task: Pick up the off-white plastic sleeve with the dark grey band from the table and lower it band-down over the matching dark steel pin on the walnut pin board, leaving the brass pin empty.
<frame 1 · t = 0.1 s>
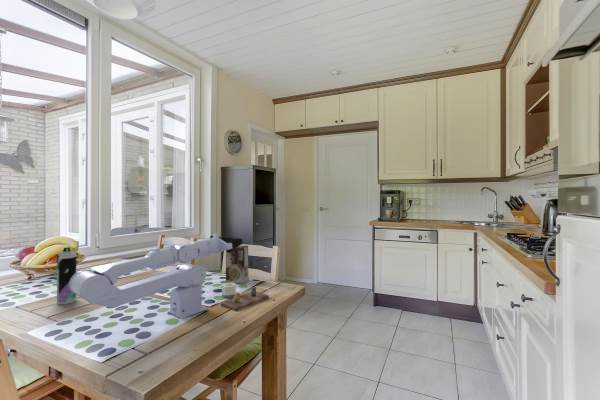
hand: (235, 240, 109), 22 cm above the table, tool horizontal, fingers open, 7 cm apart
sleeve: (229, 296, 108), on the table
spray can: (66, 302, 102), on the table
coffee box: (237, 281, 128), on the table
pin board: (245, 301, 102), on the table
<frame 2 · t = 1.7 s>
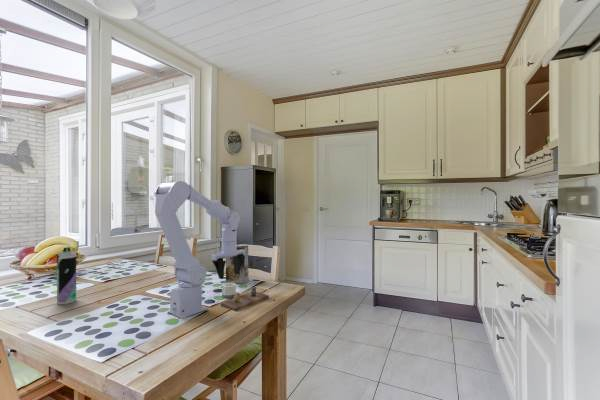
hand: (229, 275, 108), 8 cm above the table, tool pointing down, fingers open, 7 cm apart
nothing on the table moved.
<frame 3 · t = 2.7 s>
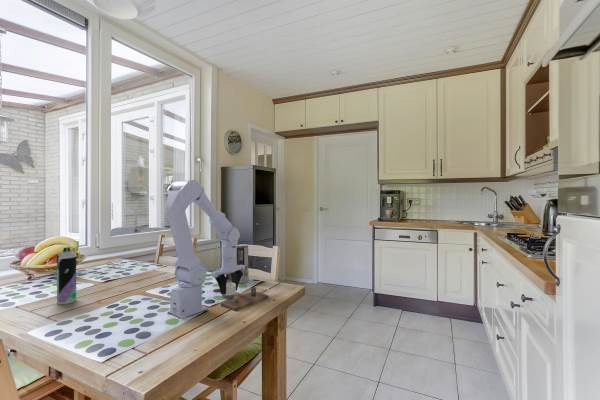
hand: (229, 292, 108), 2 cm above the table, tool pointing down, fingers closed on sleeve, 5 cm apart
sleeve: (229, 296, 108), on the table, touching gripper
everything else where it was.
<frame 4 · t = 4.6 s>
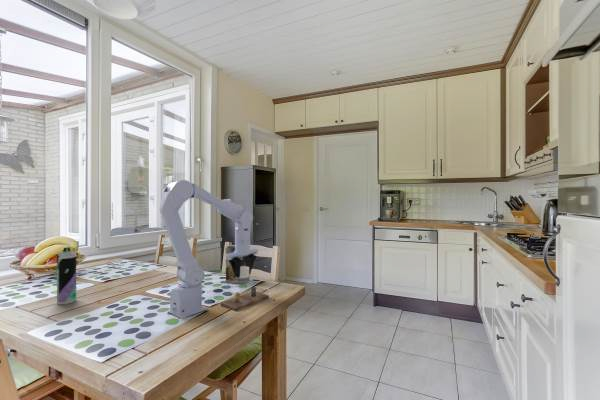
hand: (242, 275, 107), 8 cm above the table, tool pointing down, fingers closed on sleeve, 5 cm apart
sleeve: (242, 279, 107), point 7 cm above the table, touching gripper
everything else where it was.
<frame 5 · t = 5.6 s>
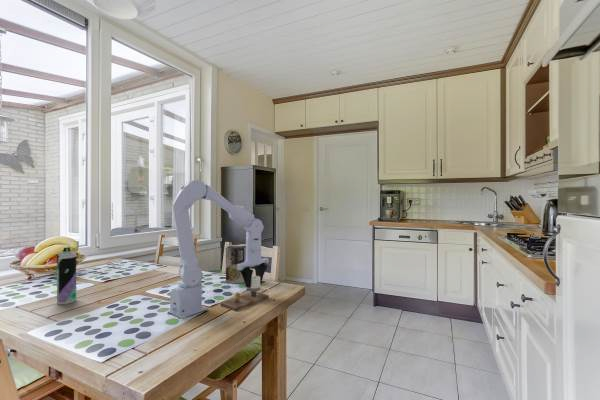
hand: (253, 285, 106), 5 cm above the table, tool pointing down, fingers closed on sleeve, 5 cm apart
sleeve: (253, 289, 106), point 3 cm above the table, touching gripper
everything else where it was.
when the fingers open (4 cm above the table, at t = 6.3 s): sleeve drops 1 cm, resting on pin board.
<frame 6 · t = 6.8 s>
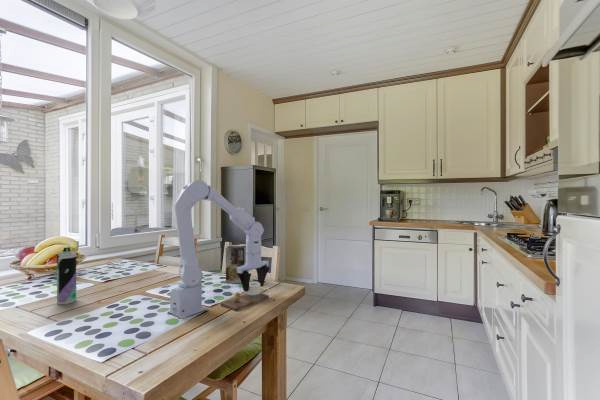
hand: (253, 288, 106), 4 cm above the table, tool pointing down, fingers open, 7 cm apart
sleeve: (253, 295, 106), point 1 cm above the table, touching pin board
everything else where it was.
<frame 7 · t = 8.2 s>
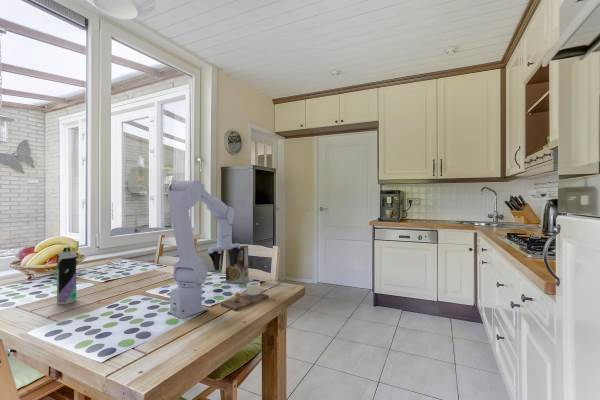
hand: (224, 268, 115), 9 cm above the table, tool pointing down, fingers open, 7 cm apart
nothing on the table moved.
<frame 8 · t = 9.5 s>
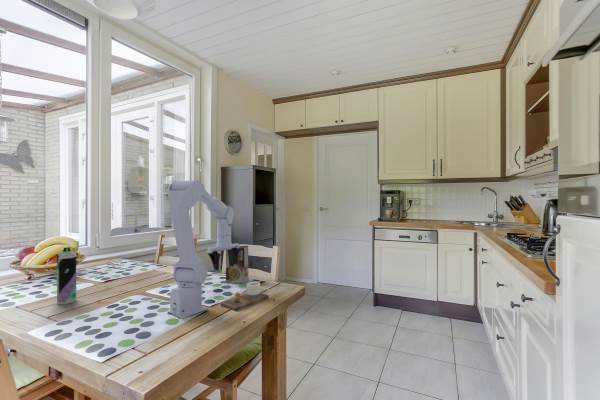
hand: (224, 267, 115), 9 cm above the table, tool pointing down, fingers open, 7 cm apart
nothing on the table moved.
at the end: sleeve 0.0 cm from the target spot on the pin board, point 1.0 cm above the pin board's base; sleeve tilted 0°; the gripper is holding nothing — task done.
